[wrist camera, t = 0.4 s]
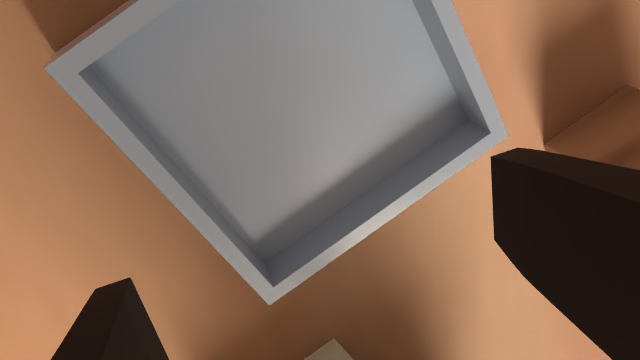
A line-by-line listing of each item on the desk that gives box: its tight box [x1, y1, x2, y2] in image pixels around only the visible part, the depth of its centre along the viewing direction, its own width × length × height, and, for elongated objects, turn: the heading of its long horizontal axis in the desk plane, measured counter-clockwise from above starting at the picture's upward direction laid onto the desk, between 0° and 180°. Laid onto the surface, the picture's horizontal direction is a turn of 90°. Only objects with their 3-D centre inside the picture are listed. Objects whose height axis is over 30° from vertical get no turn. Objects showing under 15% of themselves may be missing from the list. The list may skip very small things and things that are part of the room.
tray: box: [44, 0, 509, 306], centre depth 18 cm, size 11×11×2 cm
